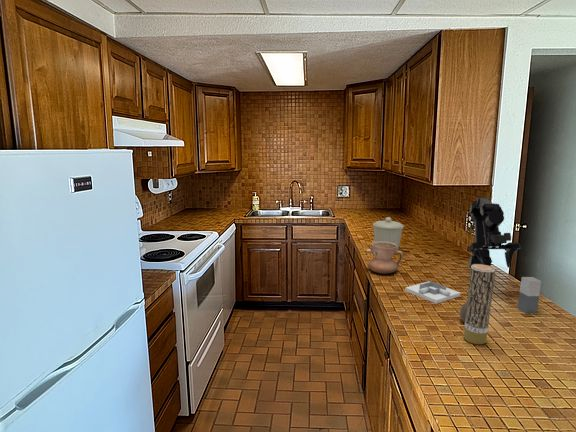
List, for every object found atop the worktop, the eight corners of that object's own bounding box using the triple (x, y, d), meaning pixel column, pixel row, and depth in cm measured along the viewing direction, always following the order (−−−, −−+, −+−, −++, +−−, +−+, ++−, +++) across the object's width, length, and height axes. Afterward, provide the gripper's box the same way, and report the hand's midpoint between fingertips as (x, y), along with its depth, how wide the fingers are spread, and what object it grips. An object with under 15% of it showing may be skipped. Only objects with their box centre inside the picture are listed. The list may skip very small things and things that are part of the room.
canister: (405, 256, 221) (408, 220, 217) (374, 255, 221) (376, 219, 217) (397, 247, 238) (399, 214, 235) (368, 247, 239) (370, 214, 235)
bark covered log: (466, 333, 130) (474, 262, 125) (488, 339, 125) (497, 267, 121) (460, 340, 124) (468, 267, 120) (483, 347, 120) (492, 272, 116)
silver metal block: (517, 308, 150) (521, 277, 148) (528, 308, 151) (532, 277, 148) (525, 313, 146) (529, 281, 144) (536, 313, 146) (541, 281, 144)
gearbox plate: (428, 284, 175) (429, 277, 175) (460, 296, 162) (461, 288, 161) (405, 290, 167) (405, 283, 166) (436, 303, 154) (436, 295, 153)
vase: (468, 328, 133) (470, 304, 132) (454, 319, 140) (457, 297, 138) (484, 326, 135) (487, 302, 133) (470, 317, 142) (472, 295, 140)
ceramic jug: (366, 275, 187) (367, 247, 184) (364, 266, 201) (366, 239, 198) (403, 277, 184) (406, 249, 182) (399, 268, 198) (401, 241, 196)
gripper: (474, 225, 156) (479, 263, 151) (523, 225, 154) (530, 263, 149) (466, 233, 167) (470, 268, 161) (511, 233, 164) (517, 268, 159)
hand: (496, 267), depth 157 cm, fingers open, 9 cm apart
